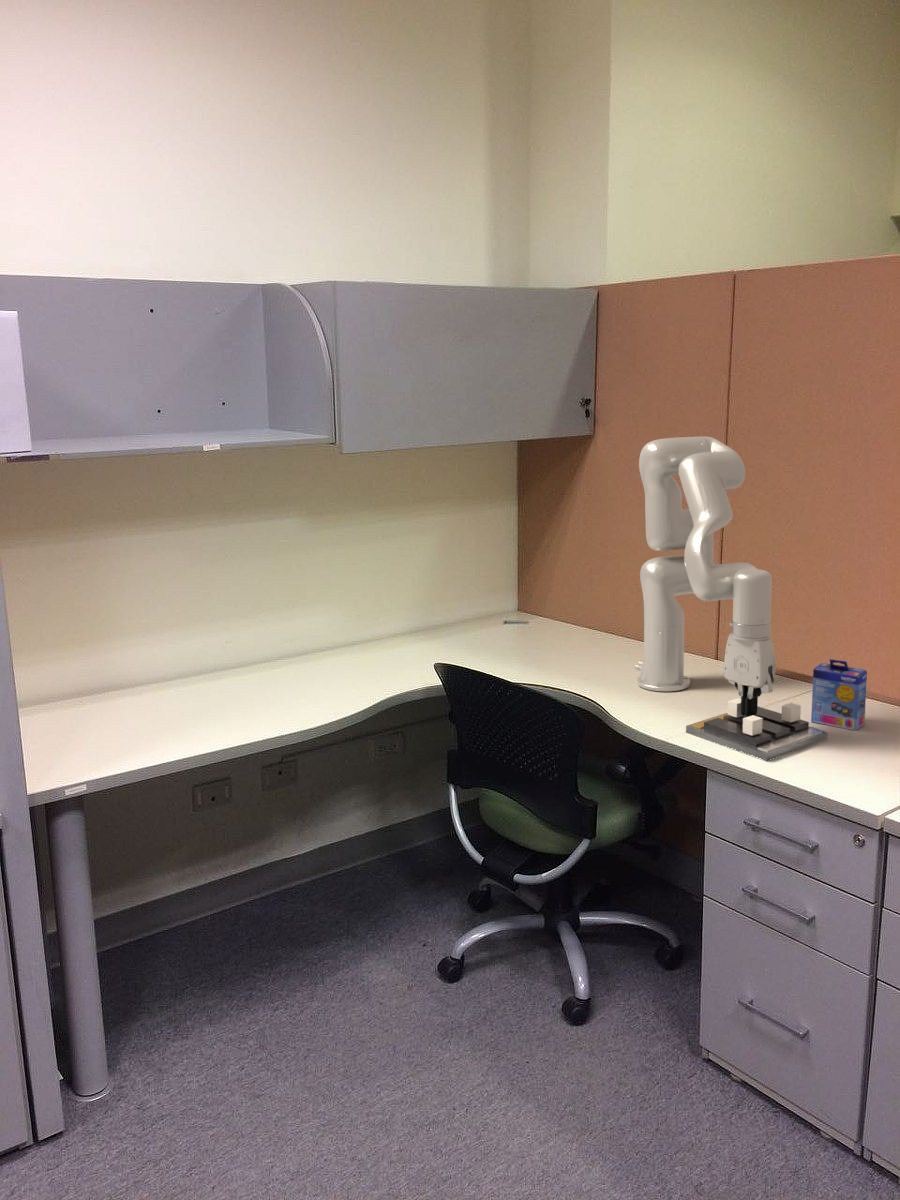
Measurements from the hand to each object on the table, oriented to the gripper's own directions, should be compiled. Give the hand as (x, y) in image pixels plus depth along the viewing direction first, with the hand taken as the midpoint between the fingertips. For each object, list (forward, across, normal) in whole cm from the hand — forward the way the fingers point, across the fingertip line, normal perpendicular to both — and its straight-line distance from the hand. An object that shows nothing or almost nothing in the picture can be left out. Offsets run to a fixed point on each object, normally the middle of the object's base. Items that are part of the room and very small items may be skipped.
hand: (748, 714), depth 211 cm
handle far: (+1, +6, +6) cm, 8 cm away
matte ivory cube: (+1, -3, 0) cm, 3 cm away
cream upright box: (+1, +6, -6) cm, 8 cm away
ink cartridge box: (+4, +8, +19) cm, 21 cm away
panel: (+4, +2, 0) cm, 5 cm away
